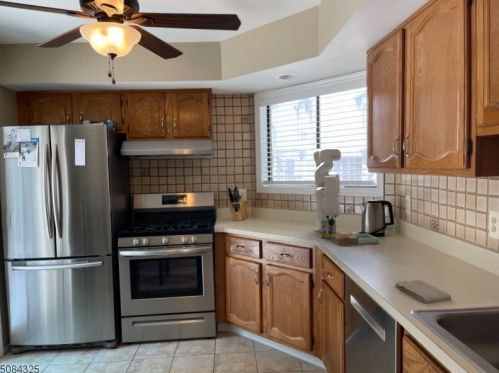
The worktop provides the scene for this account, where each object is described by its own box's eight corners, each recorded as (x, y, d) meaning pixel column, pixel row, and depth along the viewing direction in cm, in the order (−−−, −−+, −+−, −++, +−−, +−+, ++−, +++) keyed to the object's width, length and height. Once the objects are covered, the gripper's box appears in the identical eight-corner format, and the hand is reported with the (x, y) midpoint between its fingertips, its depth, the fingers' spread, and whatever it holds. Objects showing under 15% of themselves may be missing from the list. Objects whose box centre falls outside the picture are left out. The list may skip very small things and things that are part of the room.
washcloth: (418, 284, 142) (418, 277, 142) (453, 301, 124) (453, 293, 124) (392, 287, 139) (392, 280, 139) (425, 305, 122) (425, 296, 121)
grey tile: (349, 232, 222) (353, 231, 222) (349, 239, 222) (353, 238, 222) (353, 233, 217) (356, 233, 218) (353, 240, 218) (356, 240, 218)
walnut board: (330, 240, 223) (330, 233, 223) (347, 239, 225) (347, 232, 225) (339, 245, 208) (339, 238, 208) (358, 244, 210) (358, 237, 210)
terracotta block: (339, 236, 215) (339, 232, 215) (346, 236, 216) (346, 232, 215) (342, 237, 210) (342, 233, 210) (349, 237, 211) (349, 233, 211)
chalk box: (335, 238, 228) (335, 216, 227) (321, 237, 231) (321, 215, 230) (336, 235, 236) (336, 214, 235) (323, 235, 239) (322, 213, 238)
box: (347, 239, 225) (347, 234, 225) (366, 237, 227) (366, 233, 226) (358, 244, 210) (358, 239, 210) (378, 243, 212) (378, 238, 212)
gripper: (340, 195, 215) (340, 224, 216) (316, 196, 213) (317, 225, 214) (344, 196, 207) (345, 226, 208) (321, 197, 205) (321, 227, 206)
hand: (331, 225), depth 211 cm, fingers closed
